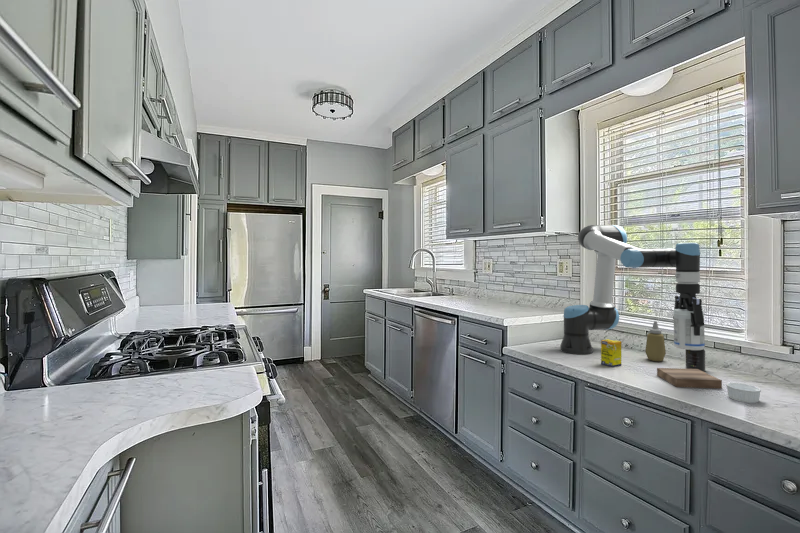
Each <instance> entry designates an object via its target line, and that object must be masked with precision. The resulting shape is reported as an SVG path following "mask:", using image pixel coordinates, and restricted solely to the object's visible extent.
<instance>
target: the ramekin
mask: <svg viewBox="0 0 800 533" xmlns="http://www.w3.org/2000/svg"><path fill="white" fill-rule="evenodd" d="M725 385H726V390H727V397H728V398H730V399H731V400H734V401H738V402H741V403H748V404H756V403H759V402H760V396H761V392H762V389H761V388H760V387H758V386H755V385H753V384H748V383H742V382H727V383H726V384H725Z"/></svg>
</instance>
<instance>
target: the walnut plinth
mask: <svg viewBox="0 0 800 533" xmlns="http://www.w3.org/2000/svg"><path fill="white" fill-rule="evenodd" d="M656 376H657V377H659V378H661V379H663V380H664V381H666V382H668V383H669V384H671V385H672V386H674V387H676V388H691V389H692V388H695V389H719V390H720V389H723V388H722V387H723V380H722V379H719V378H717V377H715V376H713V375H711V374H709V373H708V372H705V371H701V370H699V369H686V368H676V367H675V368H674V367H673V368H671V367H669V368H668V367H657V368H656Z"/></svg>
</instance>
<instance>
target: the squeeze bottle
mask: <svg viewBox="0 0 800 533" xmlns="http://www.w3.org/2000/svg"><path fill="white" fill-rule="evenodd" d="M666 354H667V353H666V344H665V336H664V334H663V333H662V330H661V329H660V328H659V324H658V321H653V324H652V328H649V333H648V334H647V336H646V342H645V355H646V358H647V359H648V360H649V361H652V362H663V361H664V359H665V356H666Z"/></svg>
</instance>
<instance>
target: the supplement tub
mask: <svg viewBox="0 0 800 533" xmlns="http://www.w3.org/2000/svg"><path fill="white" fill-rule="evenodd" d="M702 312H703V318H704V319H705V315H704V310H703V309H702ZM691 313H693V311H688V310H687V309H674V308H673V314H672V317H673V316H674V319H673V345H674V347H676V348H677V349H681V350H702V349H704V350H705V347H706V346H705V345H706V343H705V325H704V326H701V327H700V344H691V325H692V322H691Z"/></svg>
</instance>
